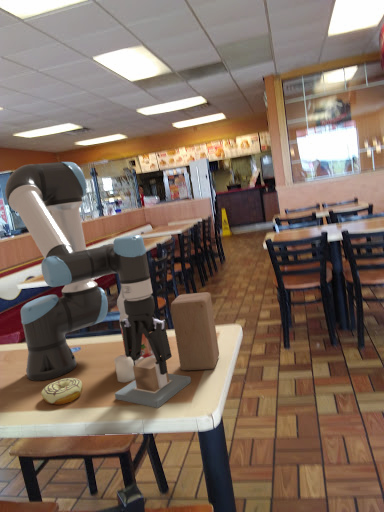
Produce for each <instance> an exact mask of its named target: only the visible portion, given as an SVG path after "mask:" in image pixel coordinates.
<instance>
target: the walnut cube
mask: <svg viewBox="0 0 384 512" xmlns="http://www.w3.org/2000/svg"><path fill="white" fill-rule="evenodd" d="M155 362H157V360H156V358H151V357H148V358H146V359H144V360H143V361H141V362H139V363H138V364H136V365H134V366H133V370H134V375H135V379H134V381H136V387H137V389H142V390H147V391H153V392H155V391H156V390H158V389H159V386H158V380H157V374H156V369H155ZM166 366H167V363H166ZM167 367H168V366H167ZM168 373H169V372H168V369H167V373H166V377H167V383H168V382H169V376H168Z"/></svg>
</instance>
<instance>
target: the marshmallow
mask: <svg viewBox="0 0 384 512" xmlns="http://www.w3.org/2000/svg"><path fill="white" fill-rule="evenodd" d="M113 362H114V367H115V372H116V378H117V381H118V382H119V383H129V382H133V381H135V375H134V370H133V366H134V363H133V360H132V359H131V357H127V356H126V354H125V353H124V354H121V355H118V356H116V357H115V358H114V359H113Z"/></svg>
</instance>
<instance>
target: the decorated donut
mask: <svg viewBox="0 0 384 512" xmlns="http://www.w3.org/2000/svg"><path fill="white" fill-rule="evenodd" d="M83 388H84V387H83V382H82V379H81V380H80V379H79V378H76V377H66V378H61V379H59V380H56V381H53V382H51V383H49V384H47V385H46V386H44V387H43V389H42V390H41V397H42V398H43V400H44V401H45V402H46V403H47V404H49V405H50V404H51V405H56V406H58V405H59V406H60V405H65V404H67V403H72V402H74V401H75V400H76V399H78V398H79V397H81V395H82V391H83Z"/></svg>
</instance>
